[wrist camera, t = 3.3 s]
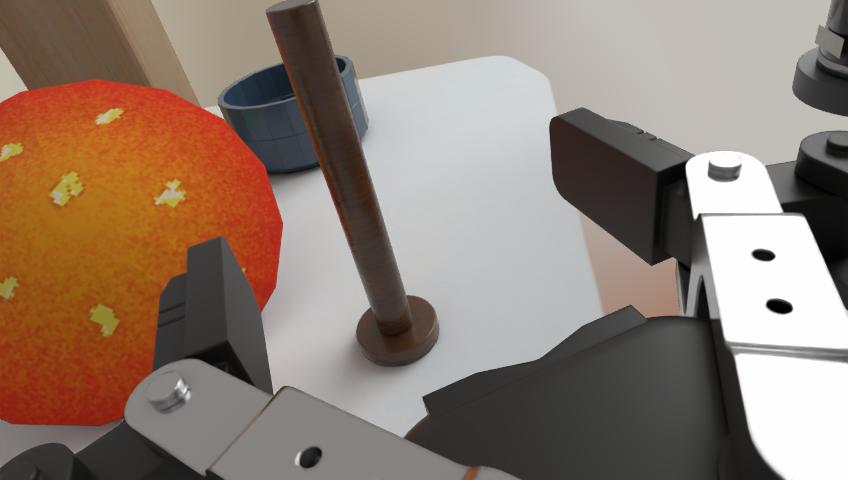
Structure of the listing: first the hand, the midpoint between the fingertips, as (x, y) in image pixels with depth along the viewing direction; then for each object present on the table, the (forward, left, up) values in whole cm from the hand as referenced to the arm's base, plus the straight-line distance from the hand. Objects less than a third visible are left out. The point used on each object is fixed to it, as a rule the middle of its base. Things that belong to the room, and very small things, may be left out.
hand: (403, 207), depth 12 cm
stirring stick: (0, -11, -15) cm, 19 cm away
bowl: (0, -42, -15) cm, 45 cm away
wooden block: (+15, -47, -15) cm, 52 cm away
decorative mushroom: (+14, -20, -15) cm, 29 cm away
